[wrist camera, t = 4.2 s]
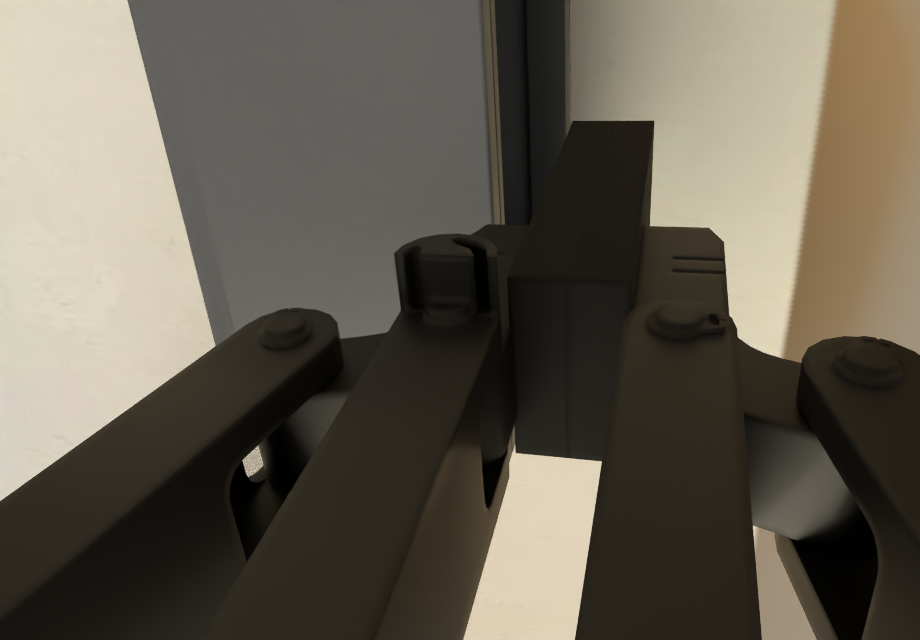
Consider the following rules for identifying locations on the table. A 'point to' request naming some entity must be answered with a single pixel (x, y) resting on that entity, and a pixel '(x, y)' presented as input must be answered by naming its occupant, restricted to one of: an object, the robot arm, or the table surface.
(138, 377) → the table surface
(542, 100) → the grey open box
